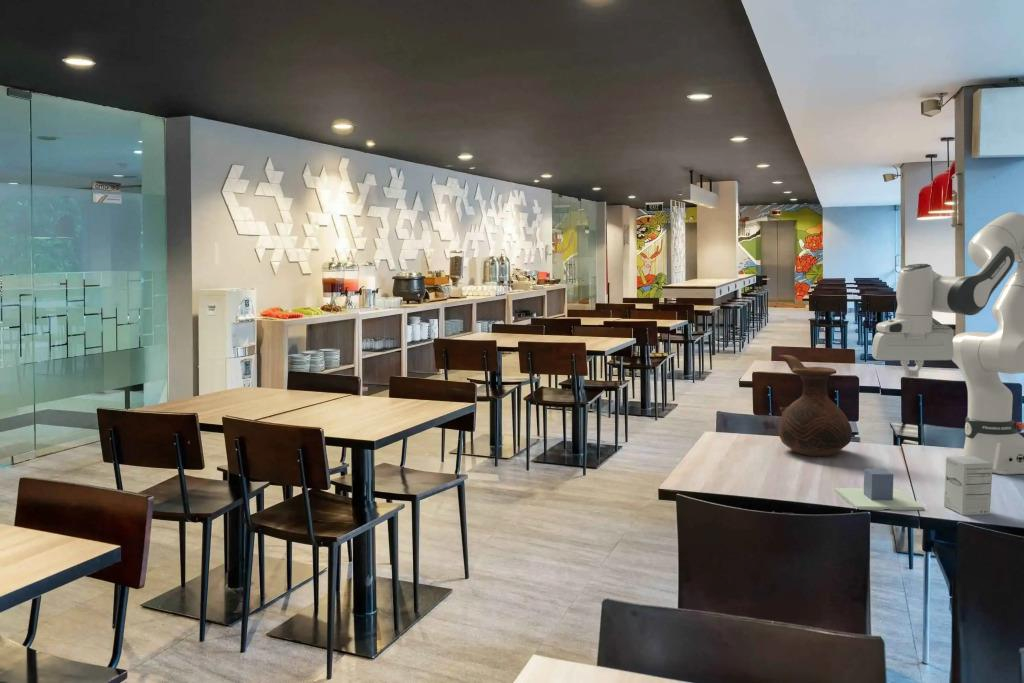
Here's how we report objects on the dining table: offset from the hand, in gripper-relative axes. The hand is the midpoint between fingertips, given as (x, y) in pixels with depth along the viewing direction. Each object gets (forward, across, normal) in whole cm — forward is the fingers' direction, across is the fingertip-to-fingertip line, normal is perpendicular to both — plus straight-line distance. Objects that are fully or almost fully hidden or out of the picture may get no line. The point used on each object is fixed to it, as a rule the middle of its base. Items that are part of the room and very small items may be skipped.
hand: (911, 376), depth 218 cm
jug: (+29, +14, -36) cm, 49 cm away
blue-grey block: (+28, +14, +16) cm, 35 cm away
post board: (+29, +14, +16) cm, 36 cm away
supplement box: (+29, -4, +24) cm, 38 cm away
